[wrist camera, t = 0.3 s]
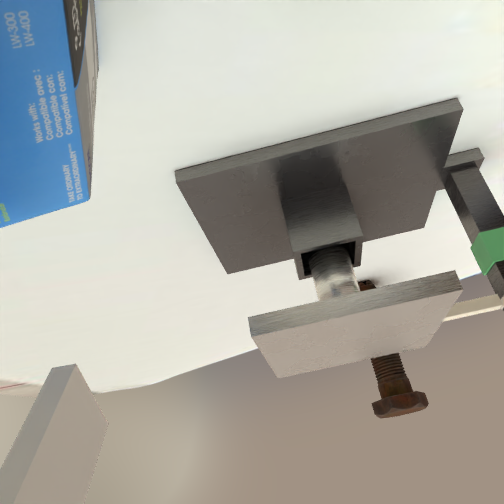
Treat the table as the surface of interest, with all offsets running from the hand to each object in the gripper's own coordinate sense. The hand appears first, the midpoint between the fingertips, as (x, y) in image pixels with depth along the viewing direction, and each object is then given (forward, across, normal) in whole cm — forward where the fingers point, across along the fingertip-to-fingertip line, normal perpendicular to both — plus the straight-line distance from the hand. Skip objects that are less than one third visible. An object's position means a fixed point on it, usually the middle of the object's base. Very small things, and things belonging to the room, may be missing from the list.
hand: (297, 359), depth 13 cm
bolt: (+34, +9, -23) cm, 42 cm away
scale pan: (+18, +5, -8) cm, 21 cm away
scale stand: (+23, +5, -5) cm, 24 cm away
